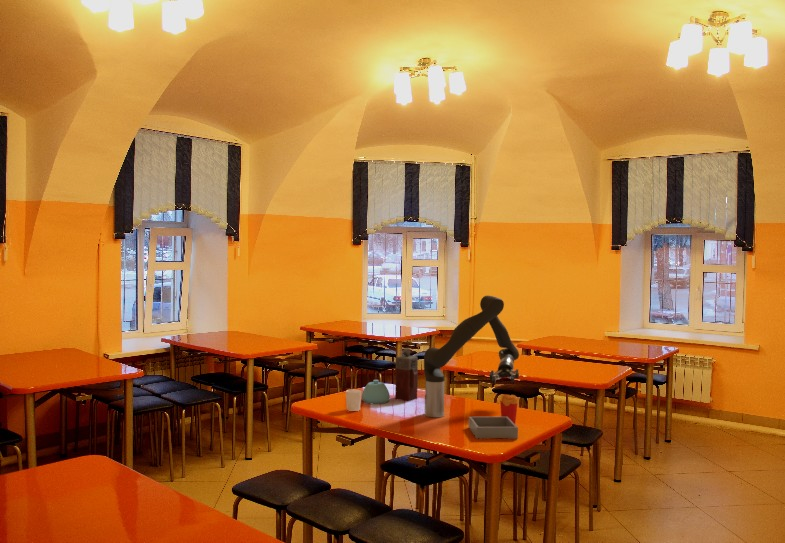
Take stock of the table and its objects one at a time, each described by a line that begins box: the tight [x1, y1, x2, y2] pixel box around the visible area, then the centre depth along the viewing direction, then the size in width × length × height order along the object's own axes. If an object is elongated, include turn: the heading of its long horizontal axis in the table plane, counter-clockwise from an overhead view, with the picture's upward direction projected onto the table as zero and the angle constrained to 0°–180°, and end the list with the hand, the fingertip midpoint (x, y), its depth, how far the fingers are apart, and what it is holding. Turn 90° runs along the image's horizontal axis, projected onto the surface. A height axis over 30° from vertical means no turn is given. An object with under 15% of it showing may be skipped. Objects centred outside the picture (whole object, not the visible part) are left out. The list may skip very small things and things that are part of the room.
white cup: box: [345, 388, 362, 412], centre depth 314 cm, size 8×8×10 cm
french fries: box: [499, 393, 518, 424], centre depth 296 cm, size 9×4×13 cm, turn 40°
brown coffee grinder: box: [394, 347, 419, 402], centre depth 340 cm, size 9×11×28 cm
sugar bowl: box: [361, 379, 391, 405], centre depth 335 cm, size 15×15×12 cm
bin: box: [468, 416, 519, 440], centre depth 277 cm, size 18×18×5 cm
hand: (503, 381), depth 302 cm, fingers open, 8 cm apart
